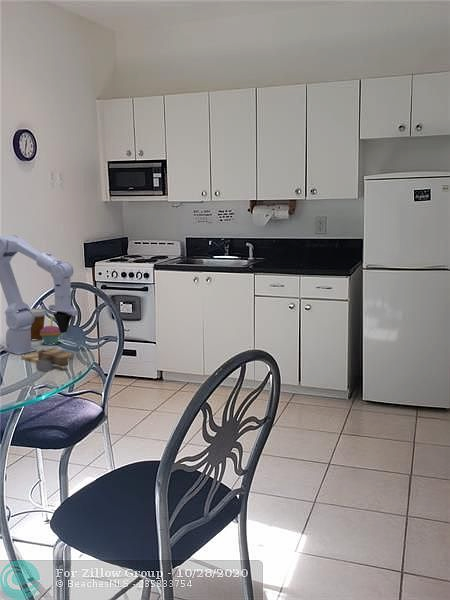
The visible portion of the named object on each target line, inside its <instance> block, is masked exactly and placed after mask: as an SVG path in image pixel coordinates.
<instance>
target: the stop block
mask: <svg viewBox="0 0 450 600" xmlns="http://www.w3.org/2000/svg"><path fill="white" fill-rule="evenodd" d="M35 364H36V365H35V367H36V370H38V371H42V372H45V373H46V372H50V371H53V370H55V364H54V361H52V360H48V359H40V360H36V363H35Z"/></svg>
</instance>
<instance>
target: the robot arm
mask: <svg viewBox="0 0 450 600" xmlns="http://www.w3.org/2000/svg"><path fill="white" fill-rule="evenodd" d="M17 253H20V254H22V255H24V256H26V257H28V258H29V259H32V260H33V261H35V262H36V266H38V267H39V268H41V269H43V270H44V271H45V272H47V273H49V274H50V276H51V277H52V281H53V283H54V284H53V285H54V288H53V289H54V304H50V305H48V312H49V311H50V312H51V311H52V312H56V313H52V315H53V318H54V319H55V321H56V323H57V327H58V328H59V330H60V332H61V333H62V334H64V333H67V332H68V328H69V324H70V321H71V319H72V318H73V317H75V316H79V310H78V309H75V308H74V306H72V302H71V301H72V294H71V289H72V288H71V284H72V283H71V277H72V276H73V275H74V268H73V266H72V264H71V263H69V262H68V261H64V262H62V260H61V259H59V258H56V257H54V256H53V255H52V253H51V252H47V251H46V252H45V251H44V252H42V253H41V252H40V251H39V250H37V249H36V248H34V247H33V246H32V245H31V244H29V243H27V242H26V241H25V240H24V239H23V238H21V237H19V236H18V235H14V234H13V235H12V234H11V235H7V236H0V286H1V288H2V291H3V295H4V298H5V300H6V303H7V308H6V309H5V311H4V314H5V322H6V326H7V327H8V329H7V331H6V332H5V343H6V345H5V346H6V347H5V348H4V351H5V352H9V353H12V354H14V355H17V356H18V355H25V354H29V353H34V352H37V349H35V348H32V341H31V327H32V325H31V324H32V323H33V322H34V319H35V318H34V314H33V312H32V311H31V310H30V309H31V308H30V305H29V304H27V303H26V302H24V301H23V297H22V294H21V292H20V289H19V286H18V284H17V283H18V282H17V280H16V277H15V273H14V272H13V268H12V266H11V261H12V258H13V257H15V256H16V254H17Z"/></svg>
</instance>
